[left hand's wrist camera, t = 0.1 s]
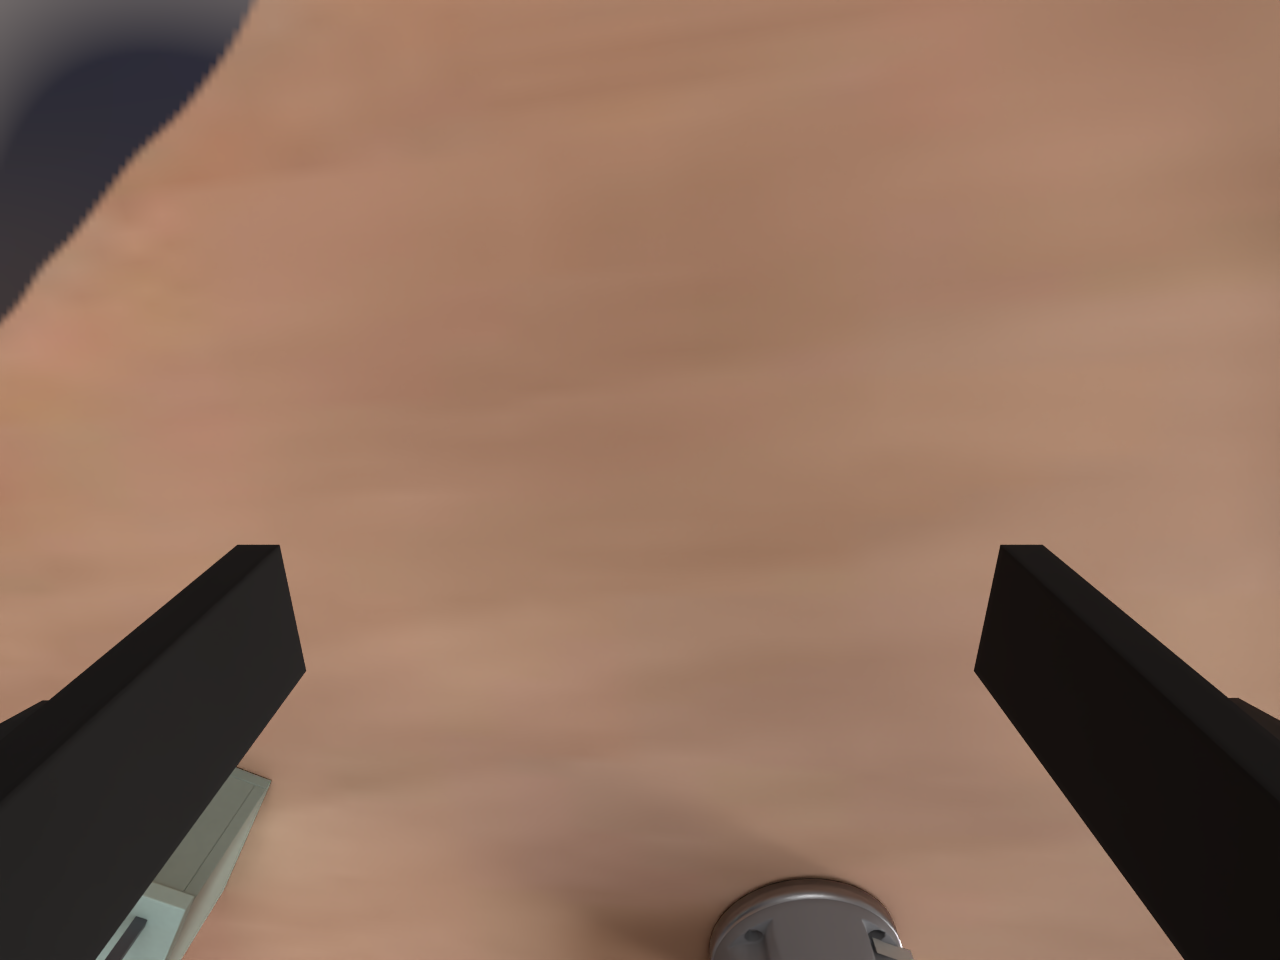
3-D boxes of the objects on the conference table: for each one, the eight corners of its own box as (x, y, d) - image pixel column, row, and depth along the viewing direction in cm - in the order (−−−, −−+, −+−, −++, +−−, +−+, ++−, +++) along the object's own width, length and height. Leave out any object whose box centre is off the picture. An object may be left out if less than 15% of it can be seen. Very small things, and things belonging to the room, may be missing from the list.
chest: (134, 728, 49) (20, 844, 40) (271, 780, 50) (192, 902, 41) (94, 846, 53) (-17, 975, 44) (223, 890, 55) (141, 1023, 46)
